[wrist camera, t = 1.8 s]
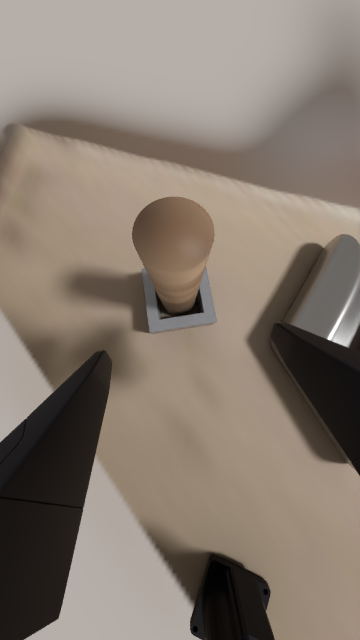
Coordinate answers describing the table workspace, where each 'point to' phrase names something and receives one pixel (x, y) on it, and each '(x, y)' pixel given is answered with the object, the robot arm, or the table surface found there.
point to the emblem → (330, 304)
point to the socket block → (179, 322)
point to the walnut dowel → (174, 249)
